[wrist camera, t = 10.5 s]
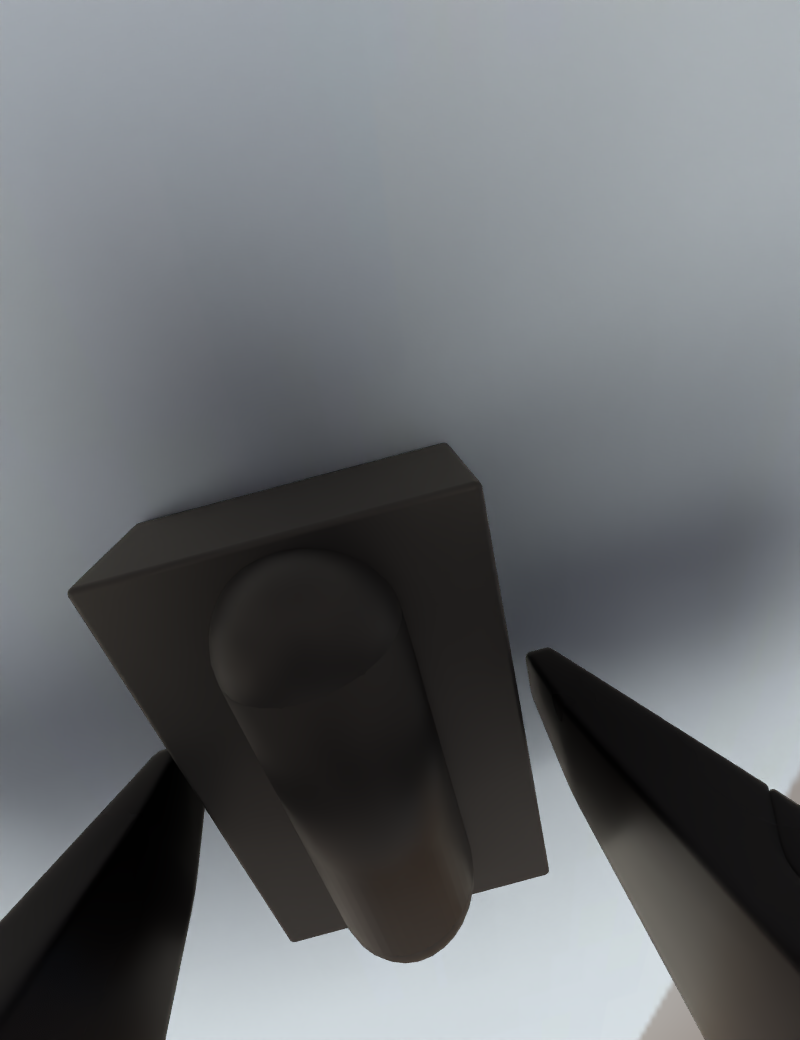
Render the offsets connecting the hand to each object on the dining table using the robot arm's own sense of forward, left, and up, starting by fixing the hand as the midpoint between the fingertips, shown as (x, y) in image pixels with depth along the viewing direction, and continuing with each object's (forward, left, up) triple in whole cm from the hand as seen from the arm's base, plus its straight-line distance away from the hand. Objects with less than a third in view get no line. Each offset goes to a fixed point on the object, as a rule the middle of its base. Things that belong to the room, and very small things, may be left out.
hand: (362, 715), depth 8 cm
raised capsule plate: (0, 0, -1) cm, 1 cm away
